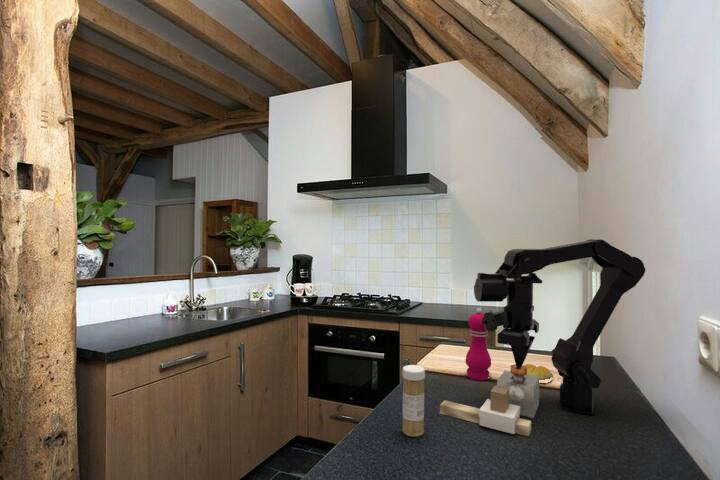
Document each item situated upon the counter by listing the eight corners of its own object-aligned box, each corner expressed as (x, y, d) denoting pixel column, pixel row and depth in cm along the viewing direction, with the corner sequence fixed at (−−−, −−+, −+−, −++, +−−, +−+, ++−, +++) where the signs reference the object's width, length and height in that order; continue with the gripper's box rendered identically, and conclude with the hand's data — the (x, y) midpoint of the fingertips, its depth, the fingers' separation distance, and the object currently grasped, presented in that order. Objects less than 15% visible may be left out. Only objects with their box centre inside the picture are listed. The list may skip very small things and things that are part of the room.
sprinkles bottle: (415, 425, 85) (416, 363, 85) (428, 435, 81) (429, 369, 81) (397, 429, 83) (398, 365, 83) (409, 439, 79) (410, 372, 79)
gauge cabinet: (538, 405, 96) (539, 376, 96) (533, 418, 89) (533, 387, 89) (504, 398, 100) (504, 370, 100) (496, 410, 93) (496, 380, 93)
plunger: (527, 391, 95) (528, 366, 95) (525, 396, 92) (525, 370, 92) (512, 387, 97) (512, 363, 97) (508, 392, 94) (509, 367, 94)
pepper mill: (494, 381, 112) (495, 310, 112) (468, 380, 112) (470, 310, 112) (486, 372, 119) (487, 306, 119) (462, 371, 119) (463, 305, 119)
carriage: (519, 422, 86) (520, 387, 86) (513, 435, 80) (513, 398, 80) (487, 414, 90) (487, 381, 90) (478, 426, 84) (479, 391, 84)
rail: (531, 430, 83) (531, 421, 83) (528, 436, 81) (528, 426, 81) (444, 408, 93) (444, 400, 93) (439, 413, 91) (440, 404, 91)
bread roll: (524, 371, 121) (525, 358, 121) (555, 379, 114) (556, 366, 114) (512, 378, 115) (513, 364, 115) (544, 387, 108) (545, 372, 108)
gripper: (494, 294, 107) (493, 352, 107) (474, 303, 91) (474, 371, 91) (539, 297, 101) (538, 359, 101) (526, 308, 85) (525, 381, 85)
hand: (519, 366), depth 94 cm, fingers closed, pressing on plunger
